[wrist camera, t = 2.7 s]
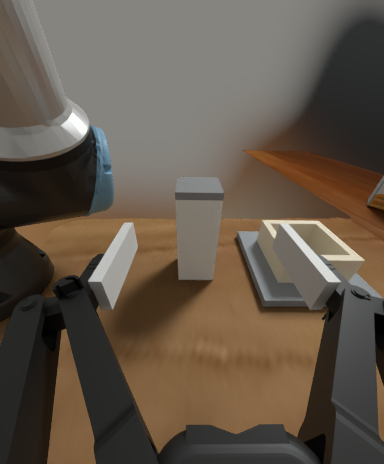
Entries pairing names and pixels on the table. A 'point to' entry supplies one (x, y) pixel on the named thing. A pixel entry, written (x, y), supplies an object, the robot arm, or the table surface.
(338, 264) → the holder
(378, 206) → the hard drive box
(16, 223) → the robot arm
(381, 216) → the table surface
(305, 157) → the table surface
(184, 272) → the white grey-topped block
